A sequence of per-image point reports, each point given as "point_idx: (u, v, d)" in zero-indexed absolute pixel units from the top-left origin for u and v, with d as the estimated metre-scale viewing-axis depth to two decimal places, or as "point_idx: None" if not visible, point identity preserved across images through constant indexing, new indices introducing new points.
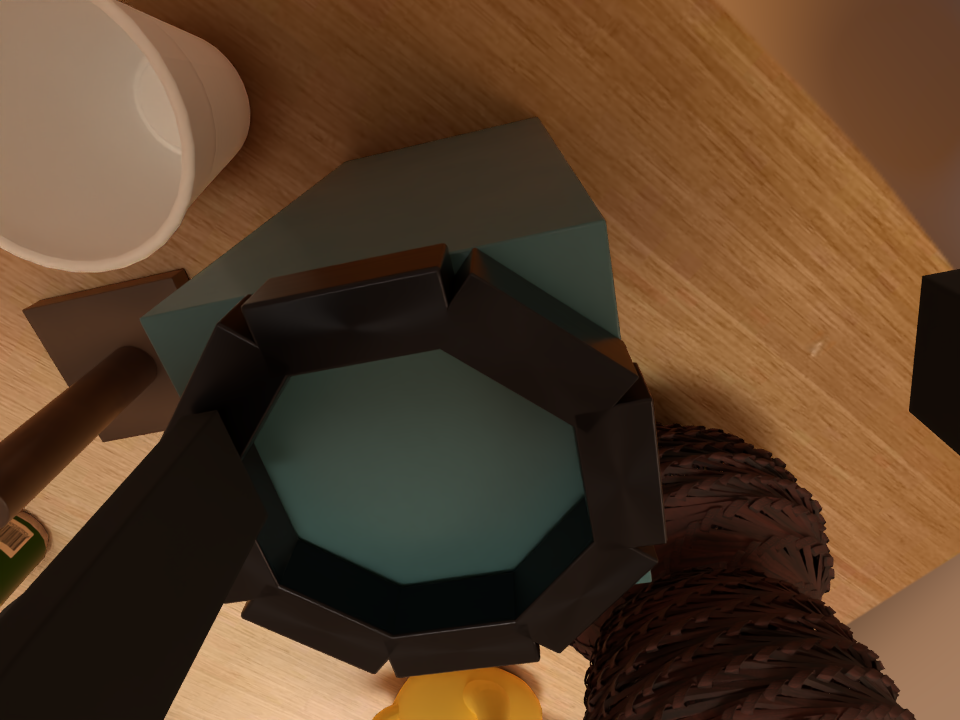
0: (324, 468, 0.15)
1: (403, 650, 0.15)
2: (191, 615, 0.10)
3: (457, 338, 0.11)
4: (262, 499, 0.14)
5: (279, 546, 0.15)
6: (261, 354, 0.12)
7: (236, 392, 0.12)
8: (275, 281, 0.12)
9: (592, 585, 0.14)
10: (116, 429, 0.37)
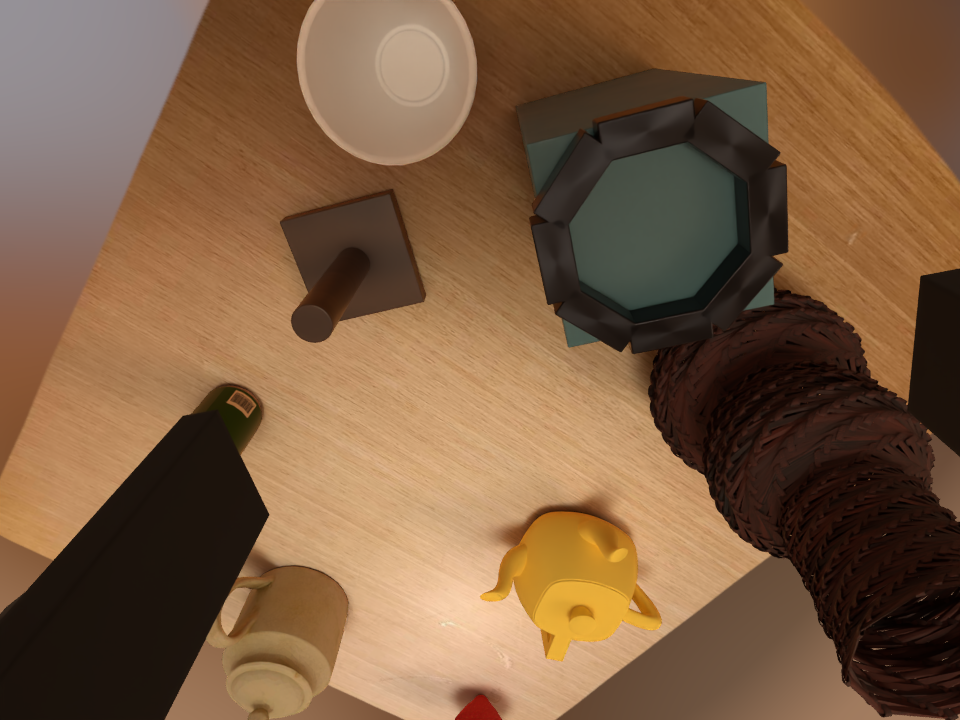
0: (603, 232, 0.28)
1: (640, 333, 0.28)
2: (192, 614, 0.10)
3: (697, 135, 0.24)
4: None
5: None
6: (600, 149, 0.25)
7: (585, 170, 0.25)
8: (600, 117, 0.25)
9: (747, 282, 0.27)
10: None
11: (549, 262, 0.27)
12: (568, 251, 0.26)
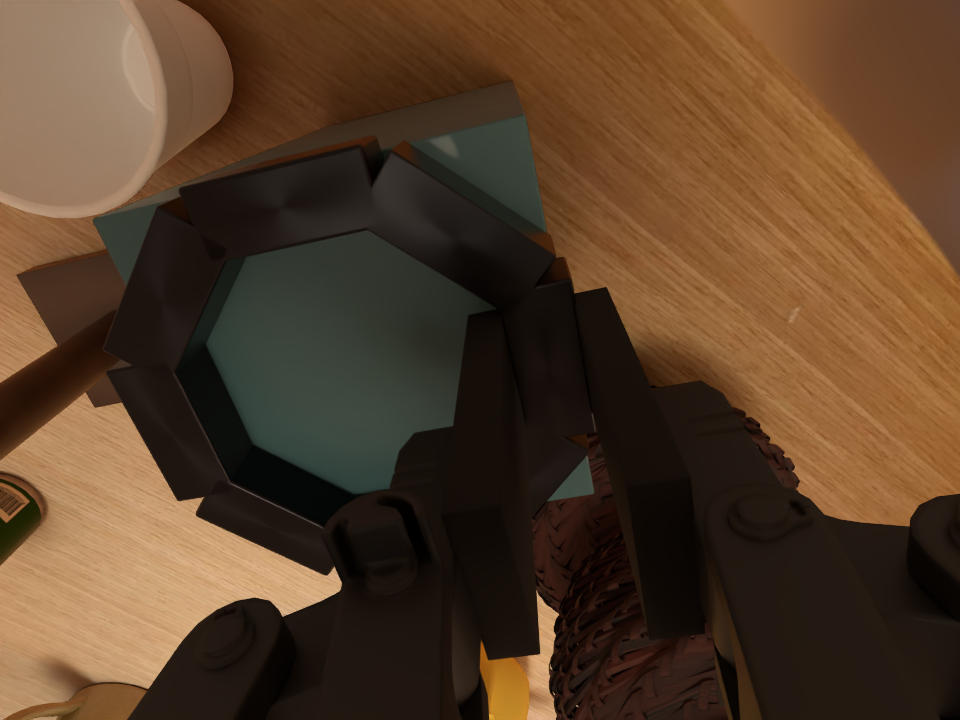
0: (273, 373, 0.15)
1: None
2: (525, 472, 0.11)
3: (382, 218, 0.12)
4: (213, 398, 0.15)
5: (231, 446, 0.15)
6: (200, 239, 0.12)
7: (178, 277, 0.12)
8: (215, 174, 0.13)
9: None
10: (107, 394, 0.38)
11: (158, 434, 0.14)
12: (186, 417, 0.14)
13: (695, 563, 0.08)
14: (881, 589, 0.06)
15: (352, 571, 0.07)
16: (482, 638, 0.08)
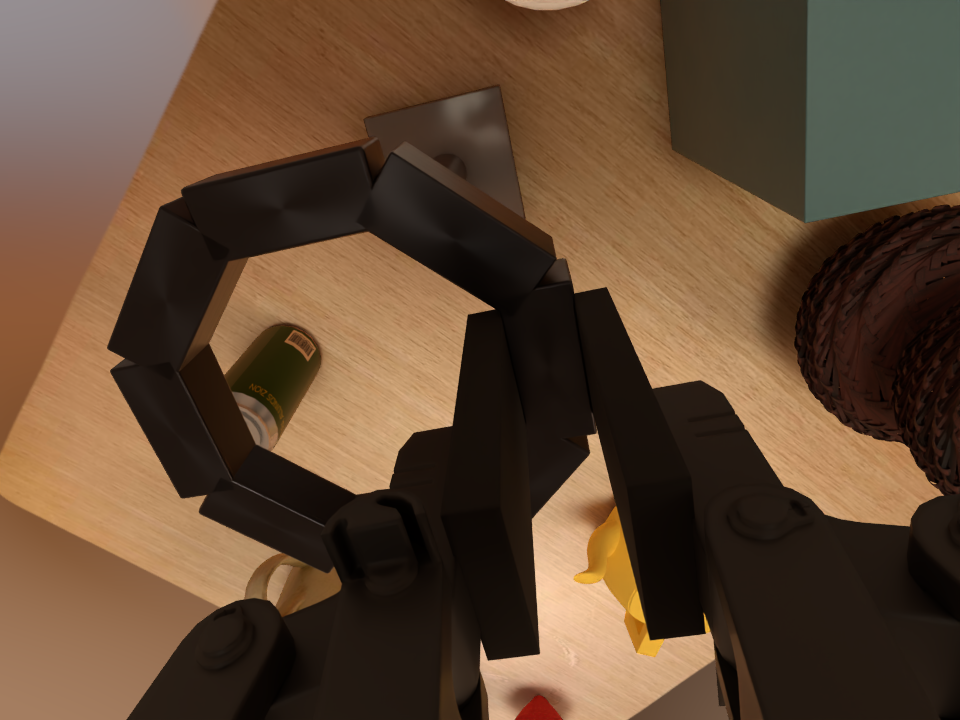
0: (888, 49, 0.20)
1: None
2: (524, 472, 0.11)
3: (383, 219, 0.12)
4: (216, 397, 0.15)
5: (234, 444, 0.15)
6: (203, 239, 0.12)
7: (181, 277, 0.13)
8: (218, 174, 0.13)
9: None
10: None
11: (161, 432, 0.14)
12: (189, 416, 0.14)
13: (695, 563, 0.08)
14: (882, 590, 0.06)
15: (352, 571, 0.07)
16: (482, 638, 0.08)
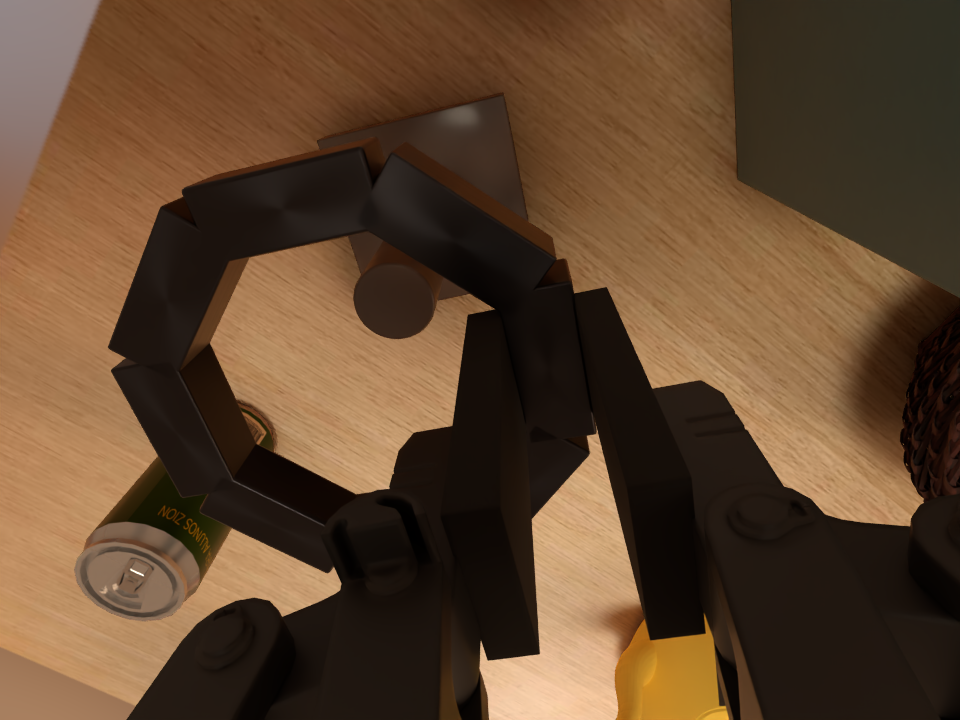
0: None
1: None
2: (524, 472, 0.11)
3: (383, 219, 0.12)
4: (217, 396, 0.15)
5: (234, 444, 0.15)
6: (204, 239, 0.12)
7: (182, 277, 0.13)
8: (219, 175, 0.13)
9: None
10: None
11: (162, 432, 0.14)
12: (190, 416, 0.14)
13: (696, 563, 0.08)
14: (882, 589, 0.06)
15: (352, 571, 0.07)
16: (482, 638, 0.08)
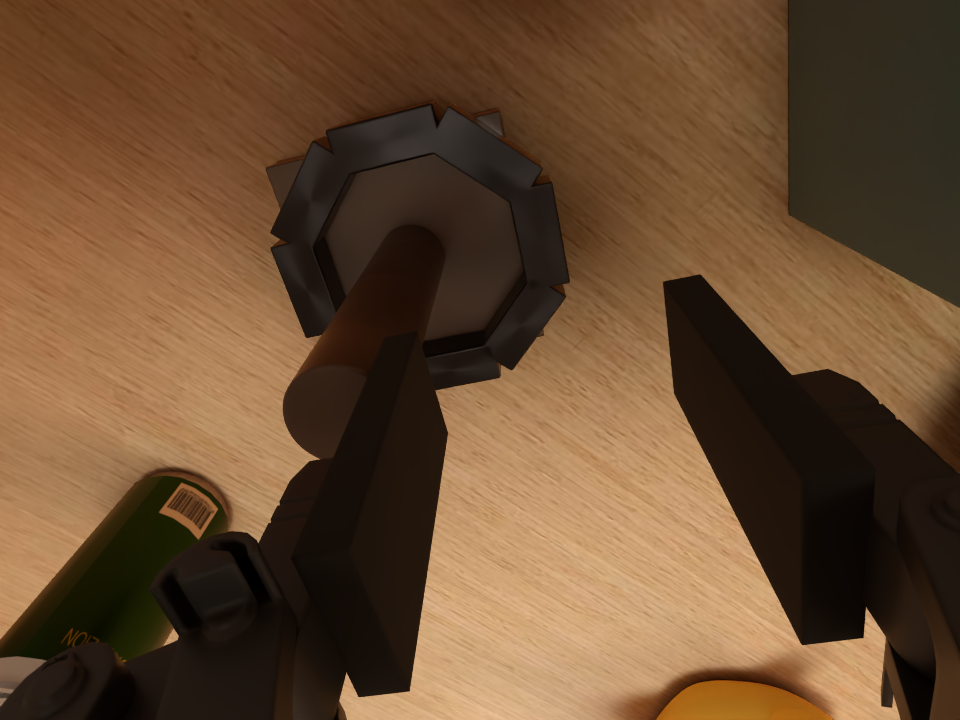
0: None
1: None
2: (427, 499, 0.11)
3: (442, 146, 0.20)
4: (330, 270, 0.24)
5: (339, 302, 0.24)
6: (335, 161, 0.21)
7: (321, 185, 0.21)
8: (341, 124, 0.21)
9: (528, 315, 0.23)
10: None
11: (298, 290, 0.23)
12: (317, 277, 0.23)
13: (866, 562, 0.07)
14: None
15: (189, 622, 0.07)
16: (350, 675, 0.08)
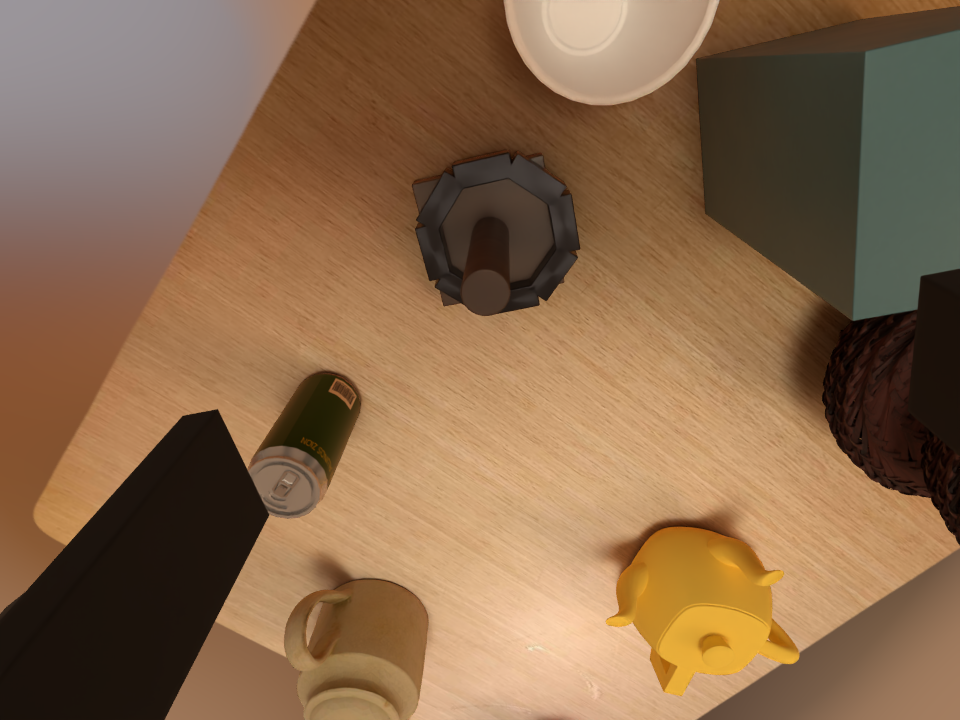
0: (934, 172, 0.22)
1: None
2: (192, 614, 0.10)
3: (513, 174, 0.39)
4: (444, 242, 0.42)
5: (448, 260, 0.42)
6: (455, 181, 0.39)
7: (446, 194, 0.39)
8: (457, 161, 0.40)
9: (556, 268, 0.41)
10: None
11: (428, 252, 0.41)
12: (439, 245, 0.41)
13: None
14: None
15: None
16: None
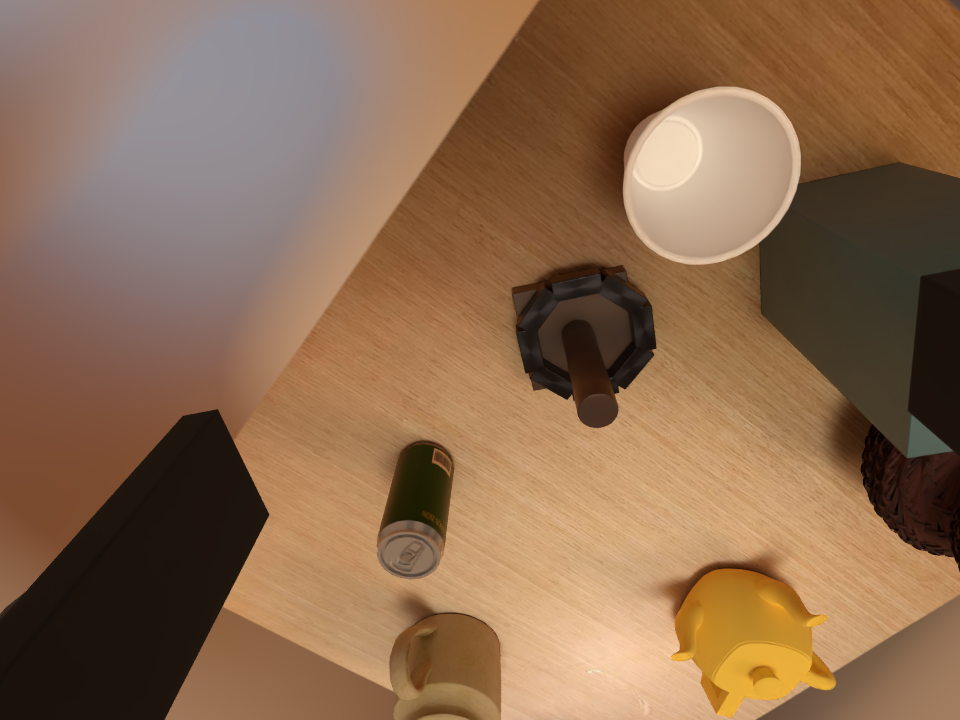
0: None
1: None
2: (192, 614, 0.10)
3: (603, 290, 0.46)
4: None
5: (542, 356, 0.49)
6: (553, 295, 0.46)
7: (545, 305, 0.47)
8: (553, 277, 0.47)
9: (635, 363, 0.48)
10: None
11: (526, 351, 0.48)
12: (536, 346, 0.48)
13: None
14: None
15: None
16: None
